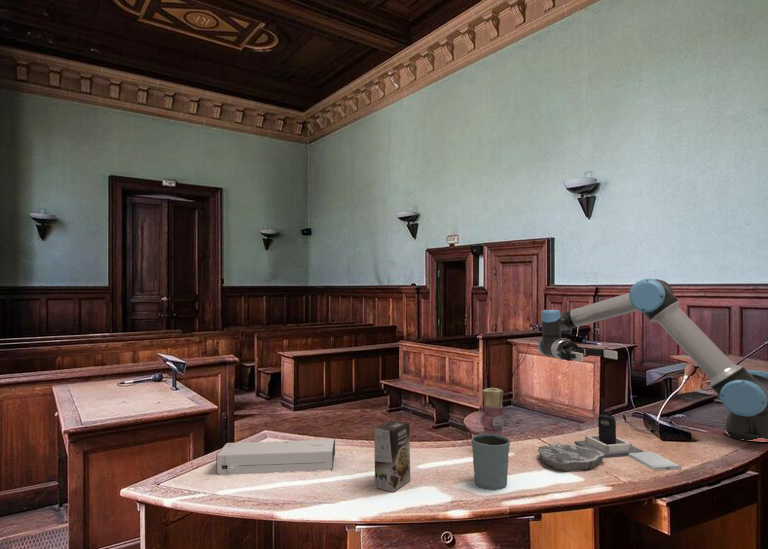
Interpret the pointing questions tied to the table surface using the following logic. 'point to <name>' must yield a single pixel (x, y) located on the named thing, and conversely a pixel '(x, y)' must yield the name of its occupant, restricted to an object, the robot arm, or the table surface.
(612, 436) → the two-way radio
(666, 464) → the hard drive
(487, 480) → the grey cup
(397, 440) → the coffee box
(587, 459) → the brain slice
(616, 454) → the charging cradle
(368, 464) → the table surface
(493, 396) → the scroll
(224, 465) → the laminator
